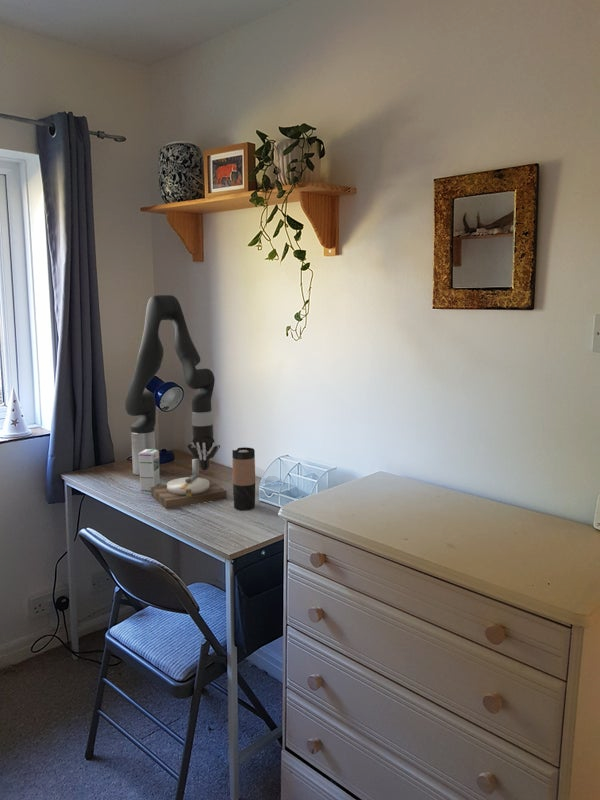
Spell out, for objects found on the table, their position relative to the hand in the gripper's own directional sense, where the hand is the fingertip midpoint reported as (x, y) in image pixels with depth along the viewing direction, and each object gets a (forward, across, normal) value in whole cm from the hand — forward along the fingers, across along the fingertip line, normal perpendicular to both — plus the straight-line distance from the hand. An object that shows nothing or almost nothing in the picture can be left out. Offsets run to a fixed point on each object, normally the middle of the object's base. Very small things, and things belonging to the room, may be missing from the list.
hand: (204, 469), depth 237 cm
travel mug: (+9, -22, +13) cm, 27 cm away
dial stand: (+8, +2, +10) cm, 13 cm away
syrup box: (+7, +20, +6) cm, 22 cm away
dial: (+5, +2, +8) cm, 9 cm away
